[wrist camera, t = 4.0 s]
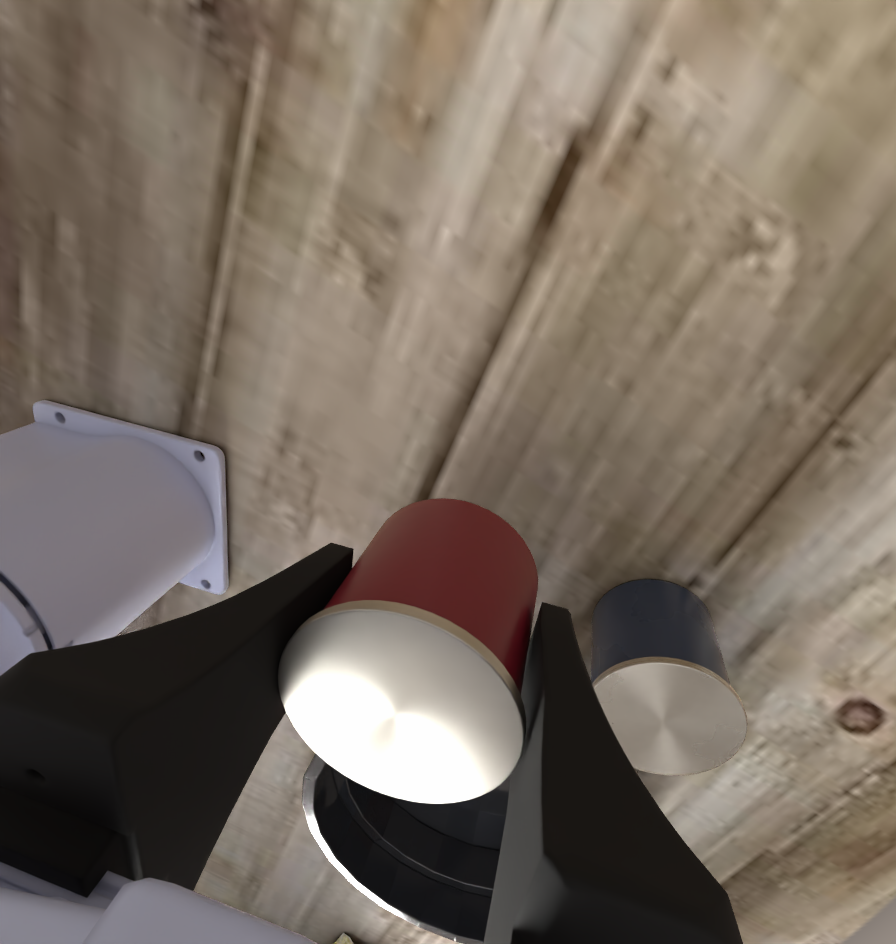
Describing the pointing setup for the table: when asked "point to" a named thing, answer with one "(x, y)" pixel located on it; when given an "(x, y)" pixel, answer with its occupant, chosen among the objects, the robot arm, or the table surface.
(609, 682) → the cylinder
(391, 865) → the bowl
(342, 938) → the chicken with coleslaw
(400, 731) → the disc
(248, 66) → the table surface
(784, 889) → the table surface
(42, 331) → the table surface
